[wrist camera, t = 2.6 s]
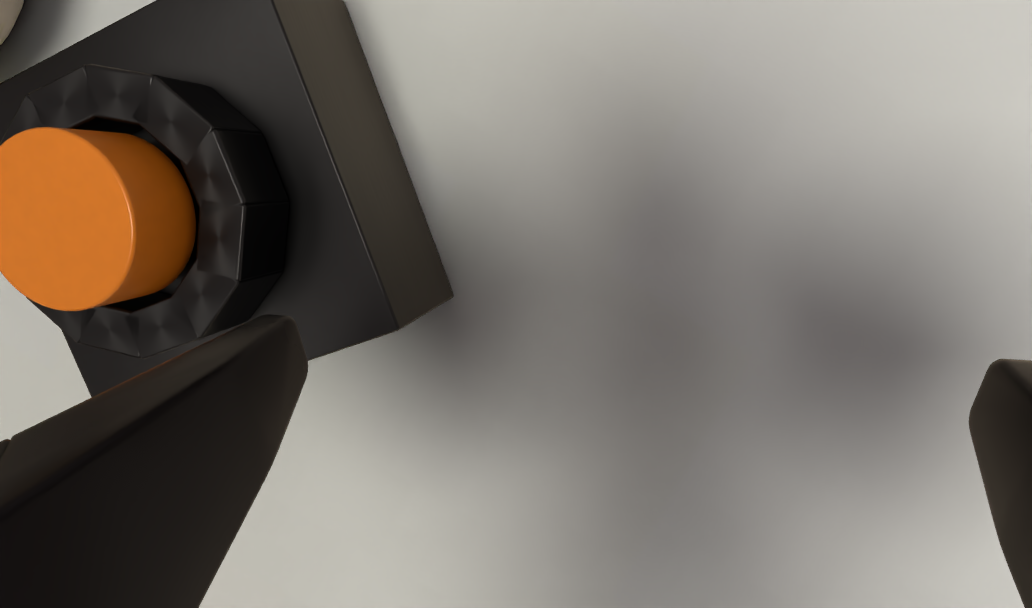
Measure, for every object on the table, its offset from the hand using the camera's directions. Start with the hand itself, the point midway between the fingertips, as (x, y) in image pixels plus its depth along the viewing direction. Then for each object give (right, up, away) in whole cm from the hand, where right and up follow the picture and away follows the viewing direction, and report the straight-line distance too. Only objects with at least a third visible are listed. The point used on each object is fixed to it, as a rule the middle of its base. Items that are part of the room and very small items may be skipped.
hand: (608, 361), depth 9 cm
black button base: (-10, +4, +14) cm, 17 cm away
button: (-11, +3, +8) cm, 14 cm away
